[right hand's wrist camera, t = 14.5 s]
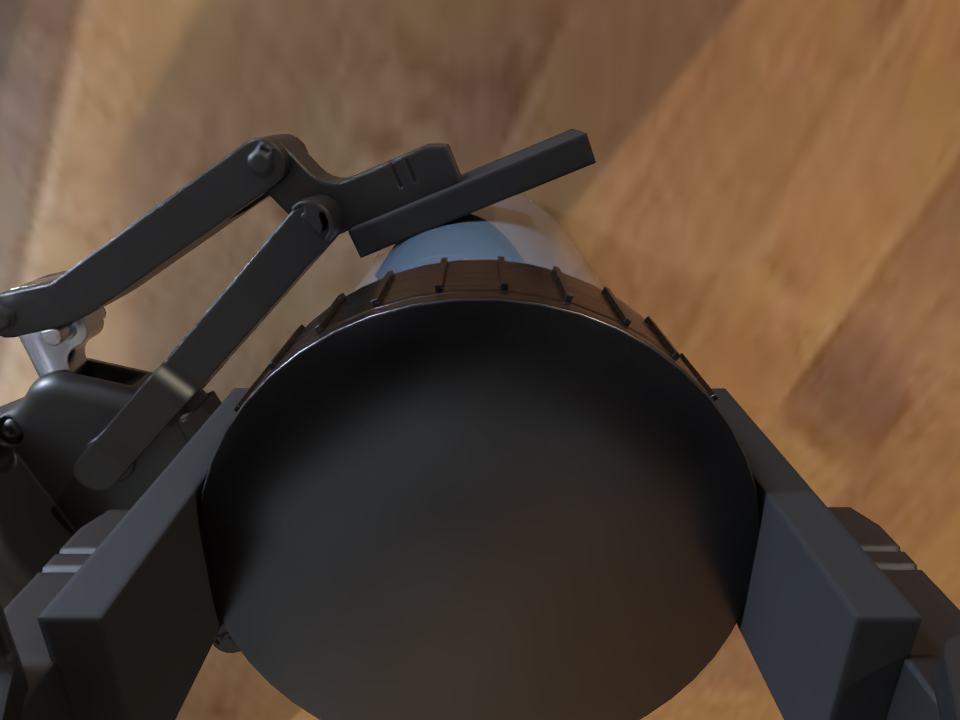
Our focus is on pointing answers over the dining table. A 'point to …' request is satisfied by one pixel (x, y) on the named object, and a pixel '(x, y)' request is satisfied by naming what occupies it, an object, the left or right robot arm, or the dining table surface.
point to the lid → (479, 505)
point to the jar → (490, 242)
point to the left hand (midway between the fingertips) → (630, 294)
